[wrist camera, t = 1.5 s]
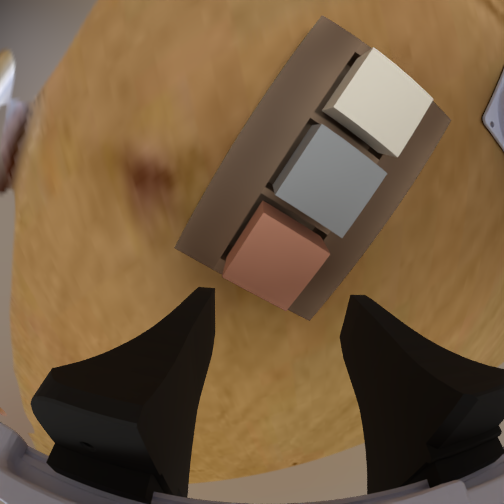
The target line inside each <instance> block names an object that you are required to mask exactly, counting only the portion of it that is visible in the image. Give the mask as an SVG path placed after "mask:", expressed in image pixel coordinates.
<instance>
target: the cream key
mask: <svg viewBox="0 0 504 504" xmlns="http://www.w3.org/2000/svg"><path fill="white" fill-rule="evenodd" d="M432 101H433V98H432V97H431V96H430V95H429V94H428V93H427V92H426V91H425V90H424V89H423V88H422V87H421V86H420V85H418V84H417V83H416V82H415V81H414V80H413V79H412V78H411V77H410V76H409V75H407V74H406V73H405V72H404V71H403V70H402V69H400V68H399V67H398V66H397V65H396V64H394V63H393V62H392V61H391V60H390V59H388V58H387V57H386V56H384V55H383V54H382V53H381V52H379V51H378V50H377V49H375V48H374V47H373V48H372V49H370V50H369V51H367V52H366V53H364V54H363V55H361V56H360V57H359V58H357V59H356V61H355V62H354V64H353V65H352V67H351V68H350V70H349V71H348V73H347V74H346V76H345V77H344V78H343V80H342V81H341V83H340V84H339V86H338V87H337V89H336V90H335V92H334V93H333V95H332V96H331V98H330V99H329V101H328V102H327V104H326V105H325V106H324V108H323V109H322V111H323V112H324V113H326V114H327V115H329V116H330V117H331V118H333V119H334V120H336V121H337V122H338V123H340V124H341V125H343V126H344V127H345V128H347V129H348V130H349V131H351V132H352V133H353V134H355V135H356V136H357V137H359V138H360V139H361V140H363V141H364V142H365V143H366V144H368V145H369V146H370V147H372V148H373V149H374V150H375V151H376V152H378V153H381V154H385V155H390V156H394V157H398V156H399V155H400V153H401V152H402V150H403V149H404V147H405V145H406V144H407V142H408V141H409V139H410V137H411V136H412V134H413V133H414V131H415V129H416V128H417V126H418V124H419V123H420V121H421V119H422V118H423V116H424V114H425V113H426V111H427V109H428V108H429V106H430V104H431V103H432Z"/></svg>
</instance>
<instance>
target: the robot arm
mask: <svg viewBox="0 0 504 504" xmlns="http://www.w3.org/2000/svg"><path fill="white" fill-rule="evenodd" d="M490 122H491V125H490ZM483 123H484V125H485V126H486V127H487V128H488V130H489V131H490V132H491V134H492V135H493V137H494V138H495V139H496V141H497V142H498V144H499V145H500V147H501V148H502V149H503V151H504V69H503V72H502V74H501V77H500V79H499V82H498V84H497V86H496V89H495V91H494V93H493V96H492V98H491V100H490V102H489V104H488V106H487V109H486V111H485V113H484V115H483ZM214 337H215V288H204V287H198V288H197V289H196V290H195V291H194V292H192V293H191V294H190V295H189V296H188V297H187V298H186V299H185V300H184V301H183V302H182V303H181V304H180V305H179V306H178V307H176V308H175V309H174V310H173V311H172V312H171V313H170V314H169V315H167V316H166V317H165V318H164V319H162V320H161V321H160V322H158V323H157V324H156V325H154V326H153V327H152V328H150V329H149V330H147V331H146V332H144V333H142V334H141V335H139V336H138V337H136V338H134V339H132V340H130V341H128V342H126V343H124V344H122V345H120V346H118V347H116V348H114V349H112V350H110V351H108V352H105V353H103V354H100V355H98V356H95V357H92V358H89V359H86V360H83V361H80V362H76V363H72V364H68V365H64V366H60V367H56V368H52V370H51V371H50V372H49V374H48V375H47V377H46V378H45V380H44V381H43V383H42V384H41V386H40V387H39V389H38V390H37V392H36V393H35V395H34V396H33V398H32V401H31V407H32V410H33V413H34V415H35V417H36V418H37V420H38V421H39V423H40V424H41V426H42V427H43V428H44V430H45V431H46V432H47V434H48V435H49V436H50V437H51V439H52V440H53V441H54V442H55V445H54V447H53V449H52V451H51V453H50V455H49V456H48V455H45V454H43V453H41V452H39V451H37V450H35V449H33V448H31V447H29V446H27V444H26V442H25V441H24V439H23V438H22V437H21V436H20V435H19V434H18V433H17V432H15V431H14V430H13V429H11V428H10V427H8V426H6V425H5V424H3V423H1V422H0V500H1V501H2V502H4V503H5V504H246V503H229V502H217V501H208V500H200V499H192V498H187V494H188V482H189V471H190V461H191V452H192V444H193V436H194V429H195V422H196V415H197V409H198V404H199V400H200V396H201V392H202V389H203V385H204V381H205V378H206V374H207V371H208V367H209V363H210V360H211V356H212V351H213V344H214ZM340 342H341V348H342V353H343V358H344V361H345V364H346V367H347V370H348V374H349V377H350V380H351V383H352V386H353V389H354V392H355V395H356V398H357V401H358V405H359V409H360V413H361V419H362V425H363V432H364V440H365V448H366V460H367V490H368V491H367V495H362V496H356V497H350V498H344V499H336V500H329V501H319V502H307V503H291V504H504V447H502V445H501V443H500V441H499V439H498V436H500V434H501V432H502V431H501V429H500V427H499V424H500V423H501V422H502V421H503V419H504V369H500V368H496V367H492V366H488V365H485V364H482V363H478V362H475V361H472V360H470V359H467V358H465V357H462V356H460V355H458V354H455V353H453V352H451V351H449V350H447V349H445V348H443V347H441V346H439V345H437V344H435V343H434V342H432V341H430V340H428V339H427V338H425V337H423V336H422V335H420V334H419V333H417V332H416V331H414V330H413V329H411V328H410V327H408V326H407V325H405V324H404V323H403V322H401V321H400V320H399V319H397V318H396V317H395V316H393V315H392V314H391V313H389V312H388V311H387V310H385V309H384V308H383V307H381V306H380V305H379V304H377V303H376V302H375V301H373V300H372V299H370V298H369V297H367V296H366V295H350V299H349V303H348V307H347V311H346V315H345V319H344V323H343V326H342V330H341V334H340Z"/></svg>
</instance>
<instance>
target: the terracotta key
mask: <svg viewBox="0 0 504 504" xmlns="http://www.w3.org/2000/svg"><path fill="white" fill-rule="evenodd" d="M329 255H330V252H329V250H328V248H327V247H326V245H325V243H324V241H323V240H322V238H321V236H319V235H318V234H316V233H315V232H313V231H311V230H310V229H308V228H307V227H305V226H304V225H302V224H300V223H299V222H297V221H296V220H294V219H292V218H291V217H289V216H288V215H286V214H284V213H283V212H281V211H280V210H278V209H276V208H275V207H273V206H271V205H270V204H268V203H266V202H265V201H262V202H261V204H260V205H259V207H258V208H257V210H256V212H255V213H254V215H253V216H252V218H251V219H250V221H249V223H248V224H247V226H246V227H245V229H244V230H243V232H242V234H241V235H240V237H239V238H238V240H237V241H236V243H235V245H234V246H233V248H232V249H231V251H230V252H229V254H228V256H227V258H226V262H225V266H224V271H223V275H222V277H223V278H225V279H227V280H229V281H230V282H232V283H234V284H236V285H238V286H240V287H241V288H243V289H245V290H247V291H249V292H251V293H253V294H255V295H256V296H258V297H260V298H262V299H264V300H266V301H268V302H270V303H272V304H273V305H275V306H277V307H279V308H281V309H283V310H285V311H287V310H288V308H289V307H290V306H291V305H292V303H293V302H294V301H295V300H296V298H297V297H298V296H299V294H300V293H301V292H302V291H303V289H304V288H305V287H306V286H307V284H308V283H309V282H310V280H311V279H312V278H313V277H314V275H315V274H316V273H317V271H318V270H319V269H320V267H321V266H322V265H323V263H324V262H325V261H326V259H327V258H328V257H329Z"/></svg>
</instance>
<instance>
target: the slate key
mask: <svg viewBox="0 0 504 504" xmlns="http://www.w3.org/2000/svg"><path fill="white" fill-rule="evenodd" d="M386 175H387V173H386V172H385V171H384V170H383V169H382V168H380V167H379V166H378V165H377V164H375V163H374V162H373V161H372V160H370V159H369V158H368V157H367V156H365V155H364V154H363V153H361V152H360V151H359V150H358V149H356V148H355V147H354V146H352V145H351V144H350V143H348V142H347V141H346V140H344V139H343V138H341V137H340V136H339V135H337V134H336V133H334V132H333V131H332V130H330V129H329V128H327V127H326V126H324V125H323V124H317V125H312V126H311V127H310V129H309V130H308V132H307V133H306V135H305V136H304V138H303V139H302V141H301V142H300V144H299V146H298V147H297V149H296V150H295V152H294V153H293V155H292V156H291V158H290V159H289V161H288V162H287V164H286V165H285V167H284V168H283V170H282V171H281V173H280V174H279V176H278V178H277V179H276V181H275V182H274V184H273V189H274V193H275V195H276V196H278V197H279V198H281V199H282V200H284V201H286V202H287V203H289V204H290V205H292V206H294V207H295V208H297V209H298V210H300V211H301V212H303V213H305V214H306V215H308V216H309V217H311V218H312V219H314V220H315V221H317V222H318V223H320V224H321V225H323V226H325V227H326V228H328V229H329V230H331V231H332V232H334V233H335V234H337V235H338V236H340V237H341V238H343V237H344V235H345V234H346V232H347V231H348V230H349V228H350V227H351V225H352V224H353V223H354V221H355V220H356V218H357V217H358V216H359V214H360V213H361V211H362V210H363V208H364V207H365V206H366V204H367V203H368V201H369V200H370V198H371V197H372V195H373V194H374V193H375V191H376V190H377V188H378V187H379V185H380V184H381V182H382V181H383V179H384V178H385V176H386Z"/></svg>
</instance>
